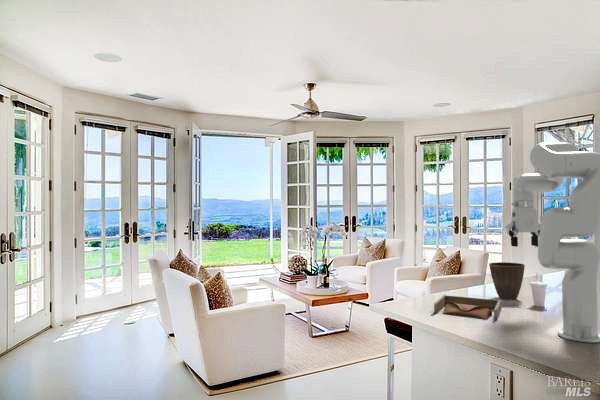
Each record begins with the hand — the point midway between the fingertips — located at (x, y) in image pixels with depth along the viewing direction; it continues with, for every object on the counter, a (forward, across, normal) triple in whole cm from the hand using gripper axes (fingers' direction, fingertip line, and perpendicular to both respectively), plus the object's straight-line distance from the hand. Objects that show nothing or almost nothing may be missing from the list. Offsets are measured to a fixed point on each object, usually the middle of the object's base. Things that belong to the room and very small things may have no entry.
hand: (524, 245), depth 178 cm
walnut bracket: (+26, -26, +1) cm, 37 cm away
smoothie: (+26, +9, +4) cm, 28 cm away
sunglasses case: (+27, -30, -3) cm, 40 cm away
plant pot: (+26, +6, +20) cm, 34 cm away
